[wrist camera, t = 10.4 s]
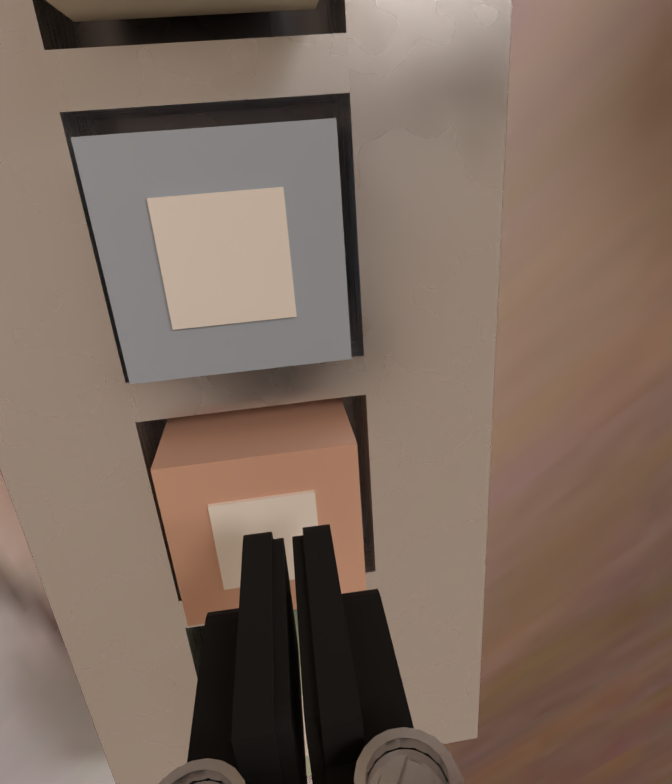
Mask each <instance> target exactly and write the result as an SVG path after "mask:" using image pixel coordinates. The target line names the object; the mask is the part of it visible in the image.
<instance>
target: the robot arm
mask: <svg viewBox="0 0 672 784" xmlns="http://www.w3.org/2000/svg"><path fill="white" fill-rule="evenodd" d="M302 529H303V535H301V536H293V537H292V542H293V558H294V573H295V588H296V603H297V619H298V634H299V649H300V663H299V650H298V640H297V632H296V625H295V617H294V610H293V603H292V595H291V588H290V581H289V573H288V566H287V559H286V551H285V544H284V538H278V539H273V534H272V532H265V533H257V534H249V535H244V536H243V546H242V563H241V580H240V596H239V608H235V609H228V610H221V611H214V612H208V613H207V615H206V620H205V625H204V633H203V641H202V649H201V657H200V664H199V672H198V680H197V688H196V696H195V703H194V711H193V719H192V727H191V735H190V742H189V750H188V758H187V763H186V764H184V765H182V766H180V767H178V768H176V769H174V770H173V771H172V772H171V773H170V774H168V775H167V776H166V777H165V778H163V779H162V780H161V781H160V783H159V784H307V773H306V757H305V742H304V726H303V710H302V695H303V709H304V721H305V731H306V739H307V746H308V753H309V760H310V768H311V775H312V782H313V784H466V783H465V780H464V778H463V776H462V774H461V772H460V770H459V767H458V765H457V763H456V761H455V760H454V758H453V757H452V755H451V754H450V752H449V750H448V749H447V747H445V746H444V745H443V744H442V743H441V742H440V741H439V740H438V739H436V738H435V737H434V736H432V735H430V734H428V733H426V732H424V731H422V730H419V729H414V726H413V722H412V718H411V714H410V710H409V707H408V703H407V699H406V695H405V691H404V687H403V683H402V679H401V675H400V671H399V667H398V663H397V659H396V655H395V651H394V647H393V643H392V639H391V635H390V631H389V627H388V623H387V619H386V616H385V612H384V608H383V604H382V600H381V596H380V593H379V590H378V589H372V590H365V591H358V592H350V593H343V594H341V588H340V582H339V576H338V570H337V564H336V558H335V552H334V546H333V540H332V534H331V528H330V524H326V525H319V526H311V527H303V528H302ZM300 664H301V679H302V695H301V679H300Z"/></svg>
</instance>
